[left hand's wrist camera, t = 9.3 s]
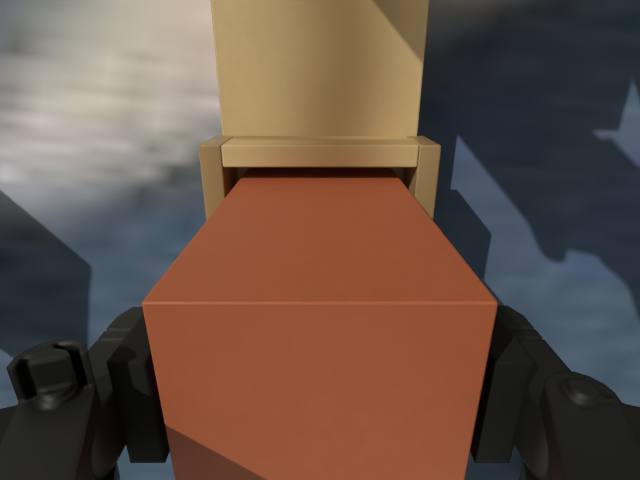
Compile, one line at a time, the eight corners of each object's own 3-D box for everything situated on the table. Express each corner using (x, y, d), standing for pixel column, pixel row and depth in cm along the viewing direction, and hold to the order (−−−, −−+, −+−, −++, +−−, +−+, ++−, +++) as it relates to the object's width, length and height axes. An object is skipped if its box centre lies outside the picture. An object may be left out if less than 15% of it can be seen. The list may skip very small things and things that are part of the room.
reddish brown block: (257, 292, 19) (185, 536, 9) (248, 167, 17) (140, 302, 7) (382, 292, 19) (454, 536, 9) (391, 167, 17) (499, 302, 7)
